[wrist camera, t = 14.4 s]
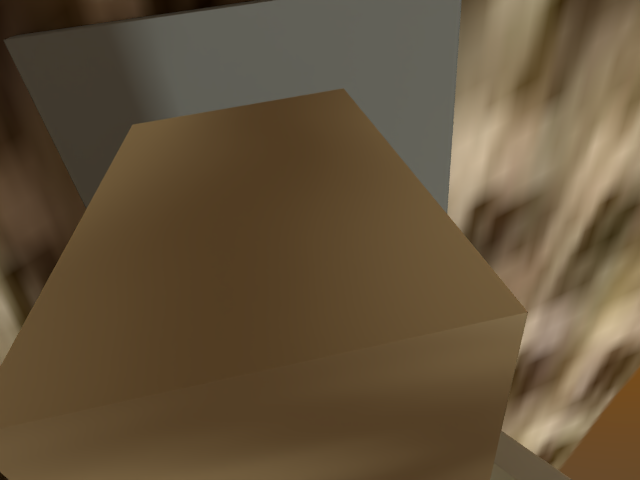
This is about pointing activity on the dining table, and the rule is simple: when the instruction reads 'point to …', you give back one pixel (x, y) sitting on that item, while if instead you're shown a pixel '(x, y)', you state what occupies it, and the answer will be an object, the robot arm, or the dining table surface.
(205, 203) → the pine block
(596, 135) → the dining table surface
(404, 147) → the grey mat
